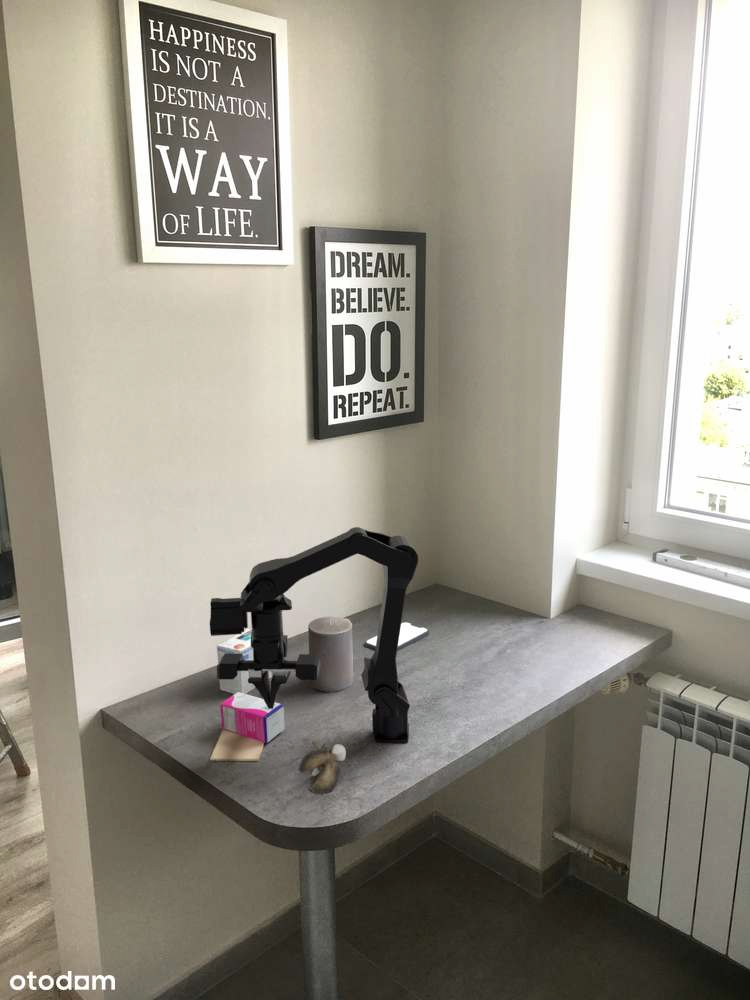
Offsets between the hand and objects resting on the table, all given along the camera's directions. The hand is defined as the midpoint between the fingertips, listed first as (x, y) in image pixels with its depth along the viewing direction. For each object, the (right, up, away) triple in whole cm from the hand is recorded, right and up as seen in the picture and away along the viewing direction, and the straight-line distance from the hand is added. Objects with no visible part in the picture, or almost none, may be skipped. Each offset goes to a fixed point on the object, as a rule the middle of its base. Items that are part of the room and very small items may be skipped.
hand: (271, 707), depth 159 cm
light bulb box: (-9, -1, +27) cm, 28 cm away
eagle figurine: (+10, -10, -10) cm, 18 cm away
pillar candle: (+10, -1, +27) cm, 29 cm away
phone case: (+25, +4, +48) cm, 54 cm away
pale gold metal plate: (-6, -7, +3) cm, 10 cm away
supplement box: (+1, -4, +3) cm, 5 cm away
